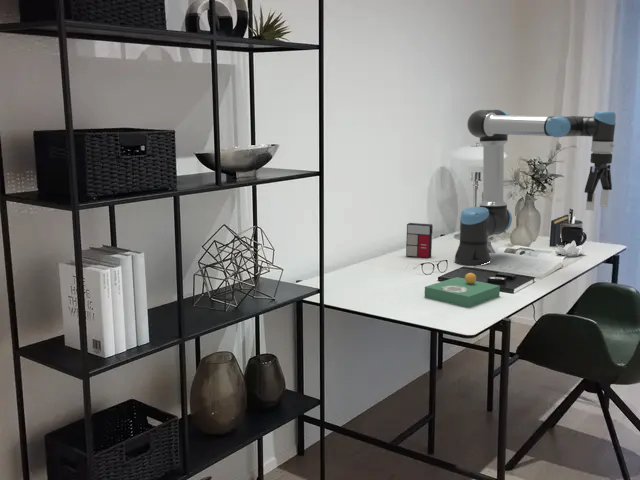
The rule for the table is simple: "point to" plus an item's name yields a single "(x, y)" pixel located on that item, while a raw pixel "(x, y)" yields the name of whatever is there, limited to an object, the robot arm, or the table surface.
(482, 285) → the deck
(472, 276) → the ball
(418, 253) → the grey and red block
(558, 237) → the dark blue book
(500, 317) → the table surface
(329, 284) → the table surface
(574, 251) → the lotus flower
